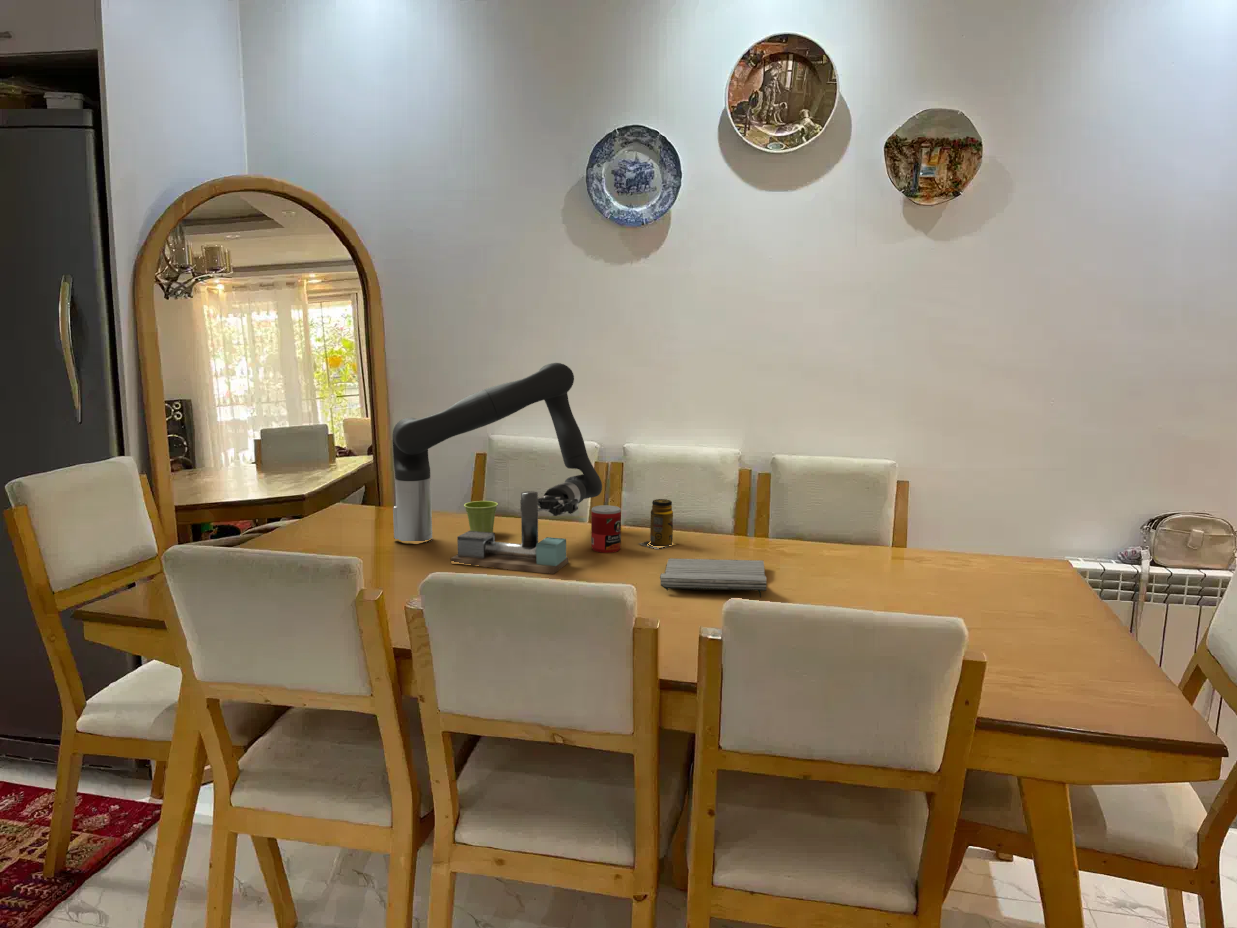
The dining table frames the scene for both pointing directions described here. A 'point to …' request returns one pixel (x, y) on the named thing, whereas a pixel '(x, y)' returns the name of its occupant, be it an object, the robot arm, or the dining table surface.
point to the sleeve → (473, 544)
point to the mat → (714, 574)
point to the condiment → (661, 524)
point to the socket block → (551, 551)
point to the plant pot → (481, 515)
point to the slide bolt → (527, 528)
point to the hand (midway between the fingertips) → (538, 510)
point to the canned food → (606, 528)
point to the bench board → (511, 563)
